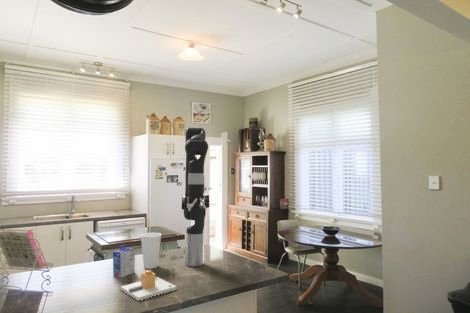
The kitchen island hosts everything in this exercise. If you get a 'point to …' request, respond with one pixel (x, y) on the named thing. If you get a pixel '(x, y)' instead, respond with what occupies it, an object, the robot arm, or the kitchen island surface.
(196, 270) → the kitchen island surface
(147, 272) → the cube with dome knob
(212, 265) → the kitchen island surface
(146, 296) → the plate
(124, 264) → the ink cartridge box
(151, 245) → the cup
